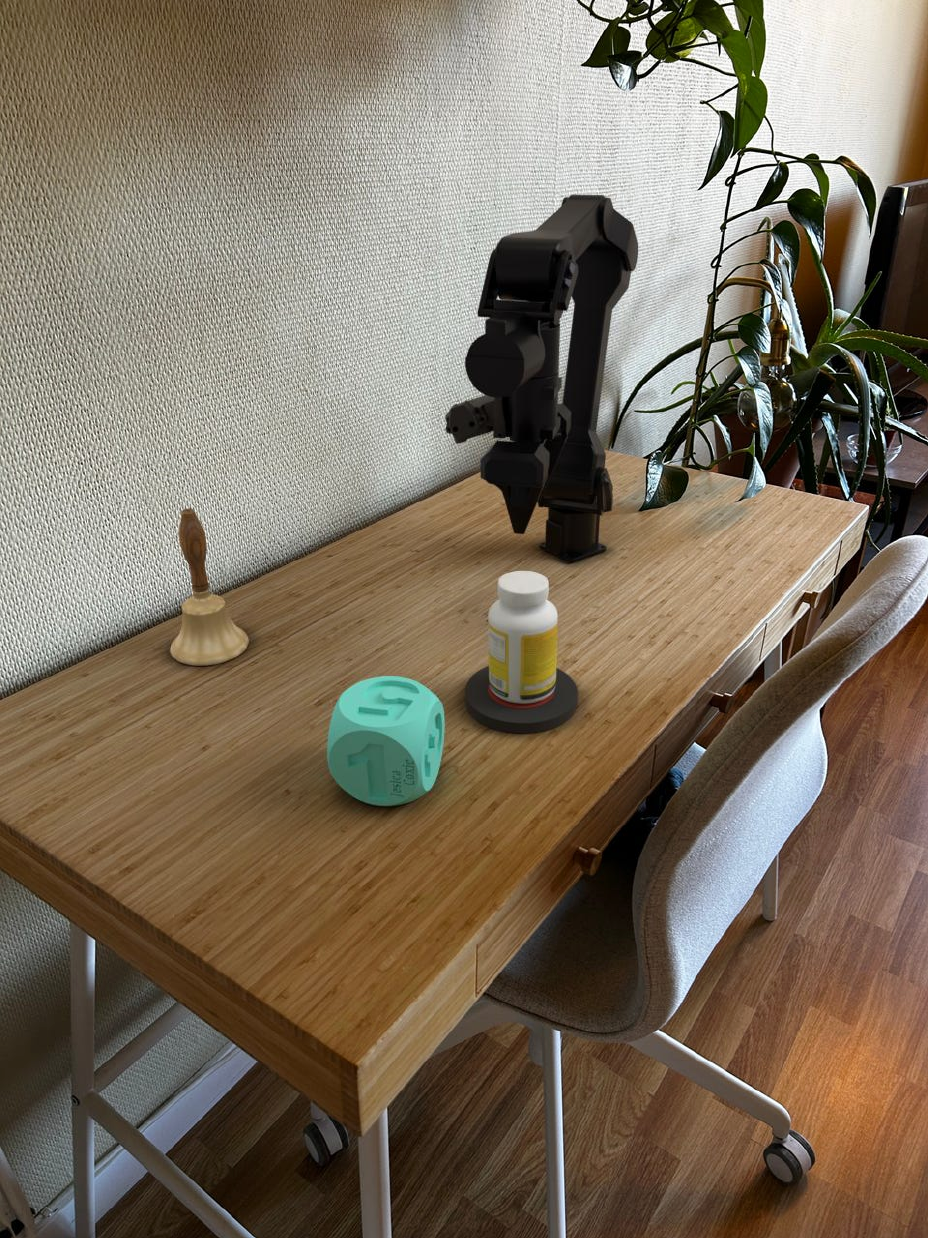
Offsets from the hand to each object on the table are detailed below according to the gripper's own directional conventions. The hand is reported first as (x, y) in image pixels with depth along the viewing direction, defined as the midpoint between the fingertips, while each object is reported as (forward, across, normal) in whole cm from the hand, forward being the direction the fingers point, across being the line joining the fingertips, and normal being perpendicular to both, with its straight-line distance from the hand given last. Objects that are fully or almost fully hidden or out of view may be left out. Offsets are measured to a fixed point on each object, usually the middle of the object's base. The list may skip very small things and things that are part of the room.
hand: (527, 516), depth 99 cm
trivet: (+12, +18, +3) cm, 21 cm away
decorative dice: (+12, +32, -6) cm, 34 cm away
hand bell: (+12, +15, -32) cm, 37 cm away
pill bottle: (+11, +17, +3) cm, 21 cm away
